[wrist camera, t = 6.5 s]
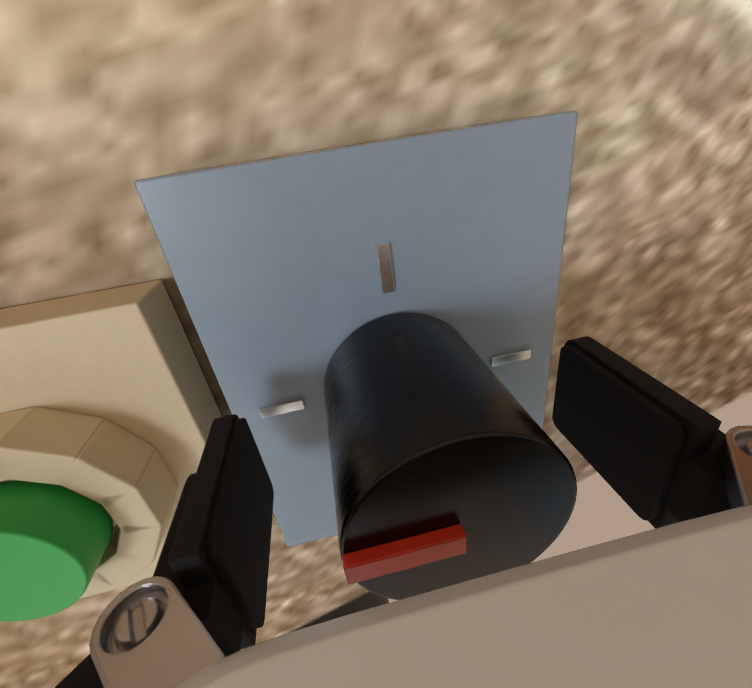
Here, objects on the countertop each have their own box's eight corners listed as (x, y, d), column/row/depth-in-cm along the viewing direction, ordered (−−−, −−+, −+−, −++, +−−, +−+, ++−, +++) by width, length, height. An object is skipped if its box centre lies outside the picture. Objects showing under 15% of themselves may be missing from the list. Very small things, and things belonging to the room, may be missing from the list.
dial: (470, 297, 11) (608, 417, 6) (472, 421, 14) (572, 581, 9) (307, 329, 11) (314, 489, 6) (339, 453, 13) (363, 640, 8)
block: (264, 510, 18) (255, 596, 15) (49, 563, 17) (-15, 668, 14) (162, 278, 12) (108, 329, 9) (-171, 339, 11) (-378, 424, 8)
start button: (135, 546, 13) (113, 599, 11) (12, 576, 12) (-28, 637, 11) (74, 465, 11) (37, 516, 9) (-74, 498, 10) (-138, 557, 9)
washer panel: (504, 437, 19) (539, 486, 16) (289, 489, 18) (287, 551, 15) (518, 118, 12) (583, 109, 9) (172, 173, 11) (129, 181, 8)
